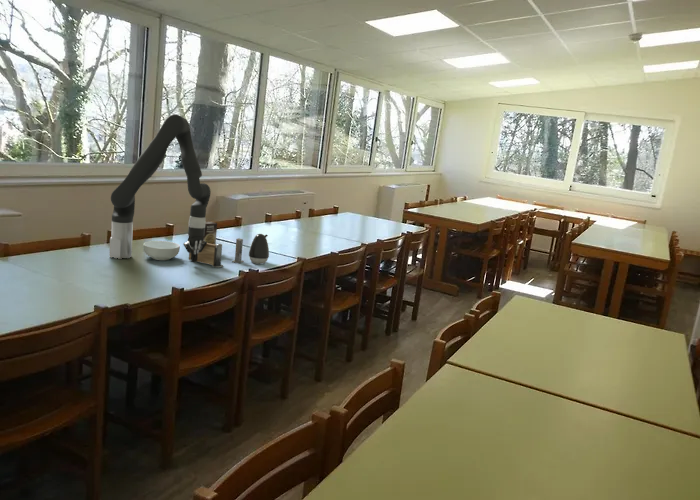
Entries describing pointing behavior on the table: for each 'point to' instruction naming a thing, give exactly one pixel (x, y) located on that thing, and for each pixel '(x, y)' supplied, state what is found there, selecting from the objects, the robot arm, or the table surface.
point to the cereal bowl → (161, 249)
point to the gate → (207, 254)
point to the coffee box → (210, 232)
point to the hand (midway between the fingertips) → (193, 261)
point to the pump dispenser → (259, 249)
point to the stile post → (238, 251)
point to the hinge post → (218, 256)
